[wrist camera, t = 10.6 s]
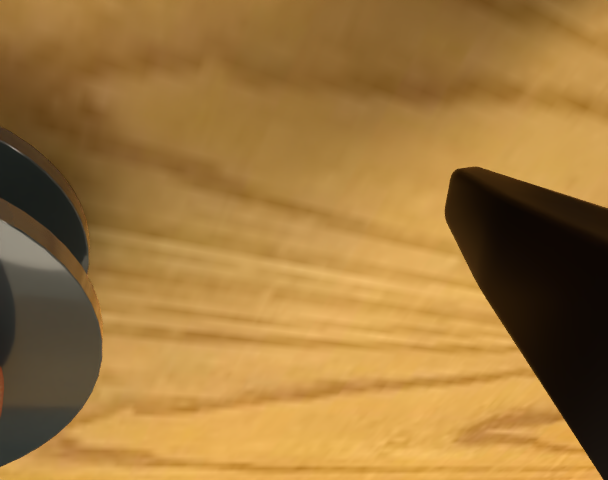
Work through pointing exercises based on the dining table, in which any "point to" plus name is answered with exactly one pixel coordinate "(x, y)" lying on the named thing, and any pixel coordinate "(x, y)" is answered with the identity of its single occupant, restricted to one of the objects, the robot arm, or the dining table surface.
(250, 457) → the dining table surface
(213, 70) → the dining table surface
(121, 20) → the dining table surface
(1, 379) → the fruit slice
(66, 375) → the cake stand
